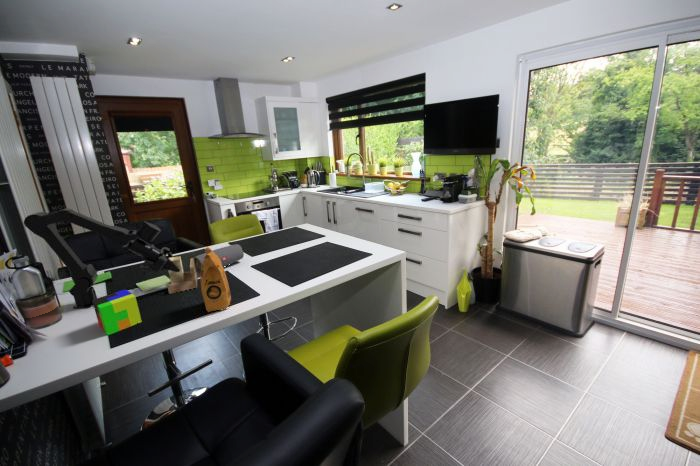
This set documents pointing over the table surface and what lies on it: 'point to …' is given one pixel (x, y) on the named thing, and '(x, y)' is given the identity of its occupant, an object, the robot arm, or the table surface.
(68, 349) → the table surface
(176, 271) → the robot arm
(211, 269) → the coffee package
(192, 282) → the light wood angled piece
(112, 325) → the puzzle toy
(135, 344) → the table surface
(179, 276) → the beech block
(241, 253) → the bluetooth speaker
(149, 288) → the olive mat
